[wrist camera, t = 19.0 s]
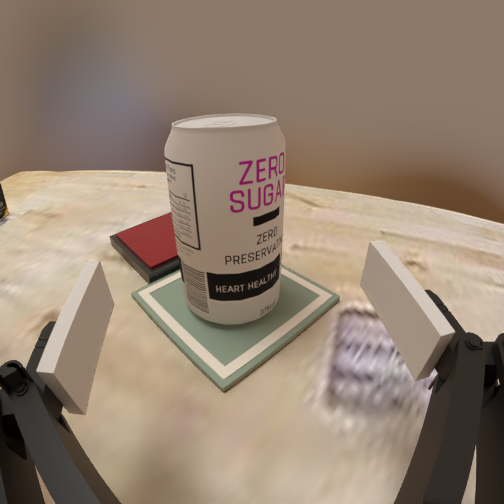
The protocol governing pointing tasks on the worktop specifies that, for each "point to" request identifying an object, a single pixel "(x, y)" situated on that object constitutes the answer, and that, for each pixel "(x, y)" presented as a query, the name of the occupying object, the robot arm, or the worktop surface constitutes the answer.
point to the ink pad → (149, 248)
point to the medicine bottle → (3, 205)
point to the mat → (234, 336)
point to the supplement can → (228, 213)
